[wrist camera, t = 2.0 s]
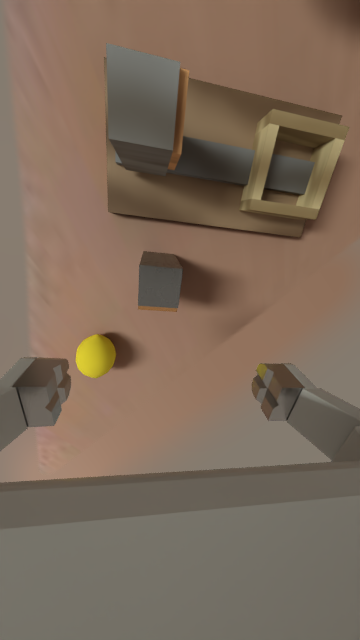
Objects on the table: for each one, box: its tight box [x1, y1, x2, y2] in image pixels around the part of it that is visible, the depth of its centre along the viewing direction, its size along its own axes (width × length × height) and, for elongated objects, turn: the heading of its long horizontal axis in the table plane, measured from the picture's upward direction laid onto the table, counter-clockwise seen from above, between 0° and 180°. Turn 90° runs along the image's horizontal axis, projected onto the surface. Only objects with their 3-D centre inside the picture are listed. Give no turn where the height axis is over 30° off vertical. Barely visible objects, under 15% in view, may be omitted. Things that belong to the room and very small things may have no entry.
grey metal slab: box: [138, 251, 183, 312], centre depth 24 cm, size 5×4×9 cm
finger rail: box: [104, 43, 349, 237], centre depth 18 cm, size 12×24×12 cm, turn 83°
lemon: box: [76, 334, 116, 378], centre depth 30 cm, size 7×5×5 cm
